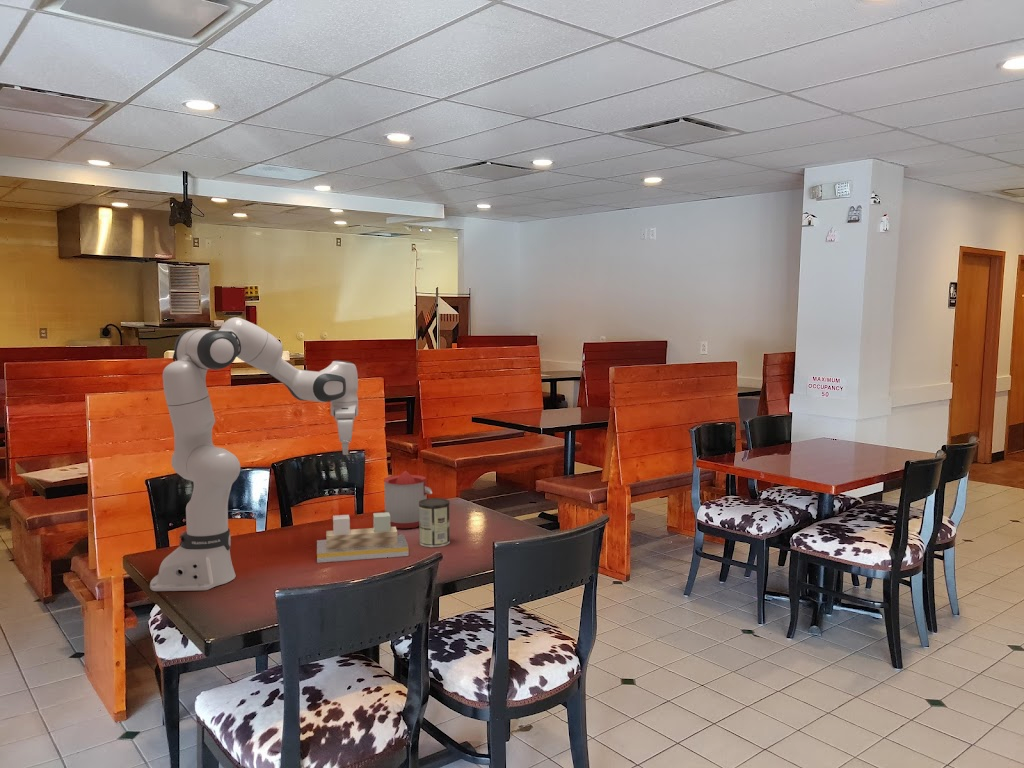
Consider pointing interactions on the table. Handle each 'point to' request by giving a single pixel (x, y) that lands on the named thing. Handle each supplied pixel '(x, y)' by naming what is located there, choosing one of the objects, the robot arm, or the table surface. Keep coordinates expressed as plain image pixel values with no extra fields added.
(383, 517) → the pale green cube
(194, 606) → the table surface
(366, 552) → the dock
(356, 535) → the checkered beige brown block
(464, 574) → the table surface
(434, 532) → the coffee can
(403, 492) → the citrus juicer
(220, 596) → the table surface
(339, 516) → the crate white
